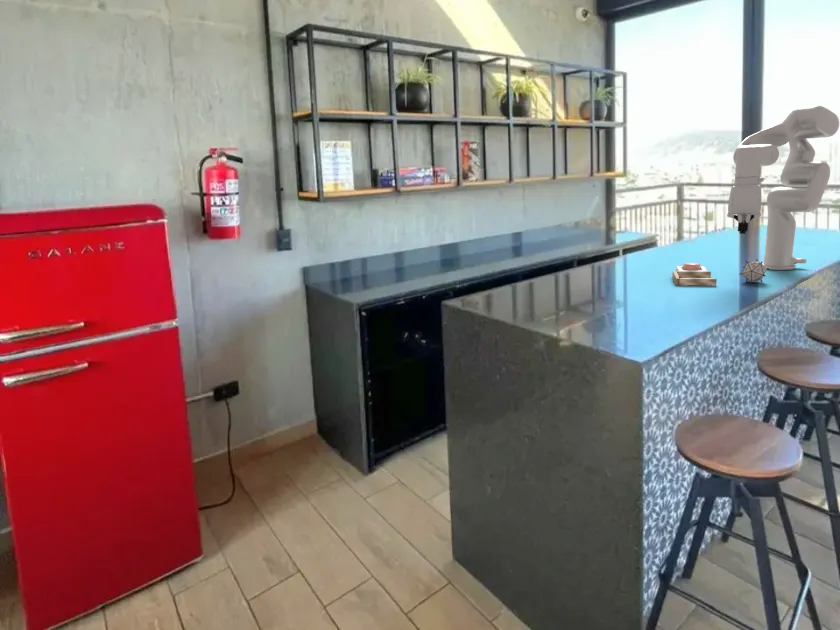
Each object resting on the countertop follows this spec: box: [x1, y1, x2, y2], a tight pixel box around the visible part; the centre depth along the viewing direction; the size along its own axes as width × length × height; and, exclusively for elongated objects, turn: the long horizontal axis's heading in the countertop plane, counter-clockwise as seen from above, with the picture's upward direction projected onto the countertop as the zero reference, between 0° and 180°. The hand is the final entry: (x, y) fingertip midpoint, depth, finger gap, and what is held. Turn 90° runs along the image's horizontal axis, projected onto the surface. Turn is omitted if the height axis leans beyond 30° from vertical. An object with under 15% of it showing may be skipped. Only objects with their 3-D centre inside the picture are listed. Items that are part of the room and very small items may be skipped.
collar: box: [675, 265, 708, 271], centre depth 226 cm, size 10×10×2 cm
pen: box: [671, 270, 718, 287], centre depth 215 cm, size 13×15×2 cm
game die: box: [739, 259, 770, 284], centre depth 208 cm, size 9×8×10 cm
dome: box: [682, 262, 701, 270], centre depth 226 cm, size 6×6×3 cm
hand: (742, 233), depth 212 cm, fingers closed
